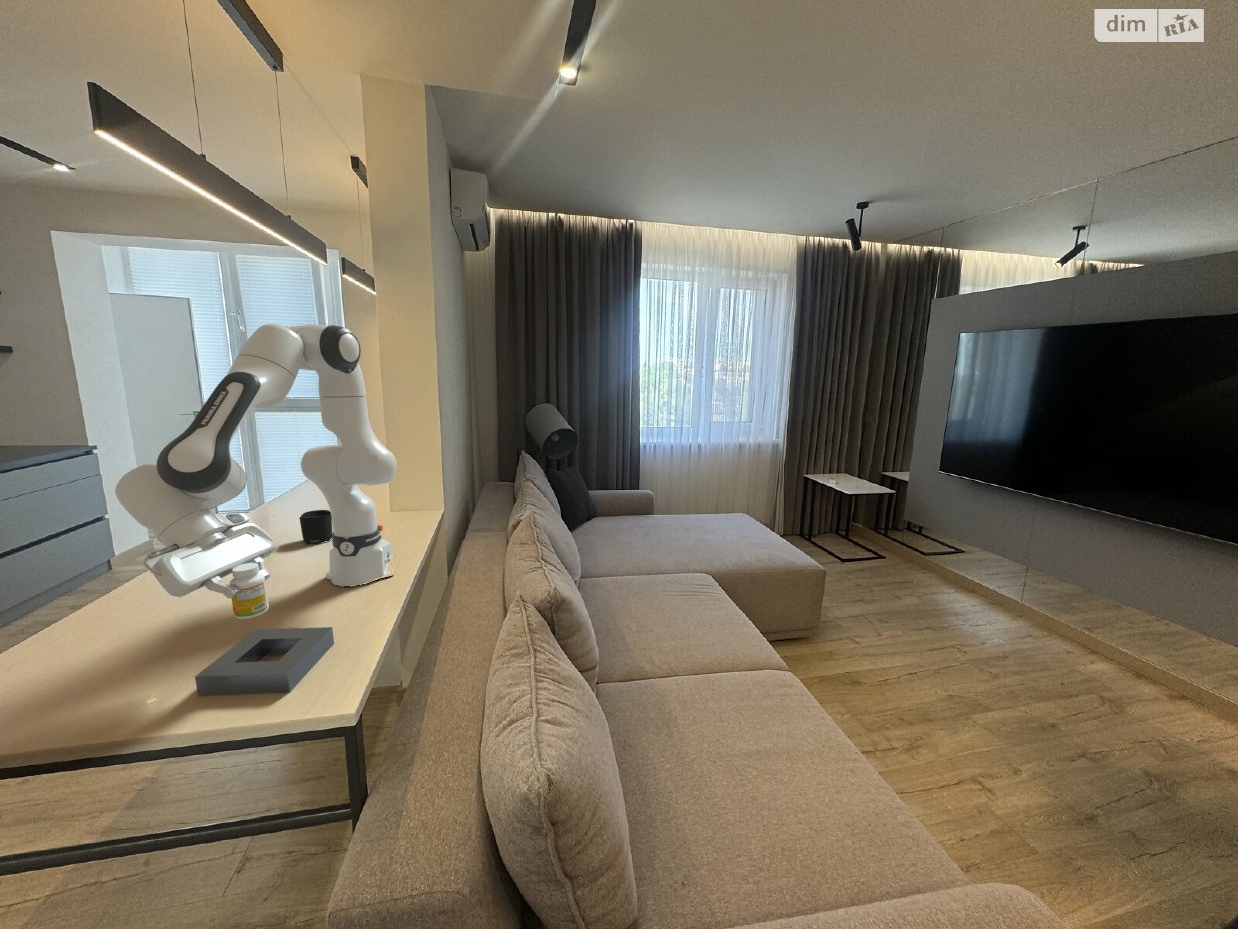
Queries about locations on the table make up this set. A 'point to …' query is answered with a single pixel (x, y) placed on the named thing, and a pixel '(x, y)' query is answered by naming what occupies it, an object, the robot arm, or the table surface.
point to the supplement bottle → (249, 591)
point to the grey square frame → (250, 676)
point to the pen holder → (316, 526)
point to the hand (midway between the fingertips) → (251, 586)
